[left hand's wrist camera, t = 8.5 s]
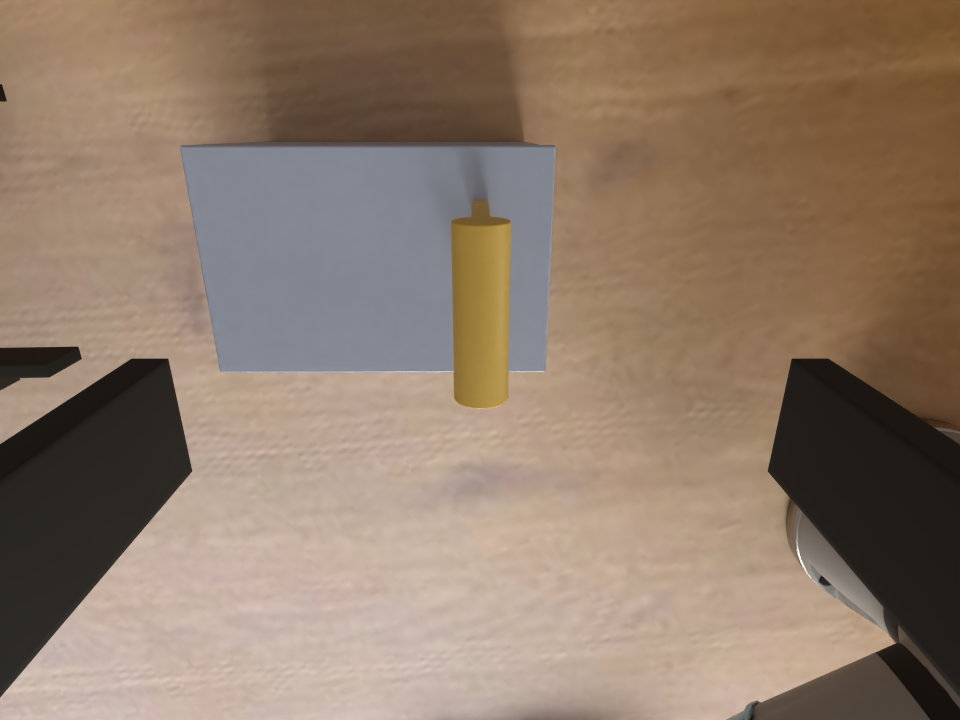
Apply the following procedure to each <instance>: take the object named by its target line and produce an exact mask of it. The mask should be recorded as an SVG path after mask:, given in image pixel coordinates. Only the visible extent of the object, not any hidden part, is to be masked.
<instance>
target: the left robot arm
mask: <svg viewBox="0 0 960 720" xmlns="http://www.w3.org/2000/svg"><path fill="white" fill-rule="evenodd" d="M191 472H192V468H191V463H190V459H189V454H188V449H187V445H186V440H185V435H184V430H183V426H182V421H181V416H180V412H179V407H178V402H177V398H176V393H175V388H174V384H173V379H172V374H171V370H170V365H169V360H168V359H131V360H129V361H127V362H126V363H124V364H123V365H121V366H120V367H118V368H117V369H115V370H114V371H112V372H111V373H109V374H107V375H106V376H104V377H103V378H101V379H100V380H98V381H97V382H95V383H94V384H92V385H91V386H89V387H87V388H86V389H84V390H83V391H81V392H80V393H78V394H77V395H75V396H74V397H72V398H71V399H69V400H67V401H66V402H64V403H63V404H61V405H60V406H58V407H57V408H55V409H54V410H52V411H51V412H49V413H47V414H46V415H44V416H43V417H41V418H40V419H38V420H37V421H35V422H34V423H32V424H31V425H29V426H28V427H26V428H24V429H23V430H21V431H20V432H18V433H17V434H15V435H14V436H12V437H11V438H9V439H8V440H6V441H4V442H3V443H1V444H0V697H1V696H2V695H3V694H4V692H5V691H6V690H7V689H8V688H9V686H10V685H11V684H12V683H13V682H14V681H15V679H16V678H17V677H18V676H19V675H20V673H21V672H22V671H23V670H24V669H25V668H26V666H27V665H28V664H29V663H30V662H31V661H32V659H33V658H34V657H35V656H36V655H37V653H38V652H39V651H40V650H41V649H42V648H43V646H44V645H45V644H46V643H47V642H48V641H49V639H50V638H51V637H52V636H53V635H54V633H55V632H56V631H57V630H58V629H59V628H60V626H61V625H62V624H63V623H64V622H65V620H66V619H67V618H68V617H69V616H70V615H71V613H72V612H73V611H74V610H75V609H76V608H77V606H78V605H79V604H80V603H81V602H82V600H83V599H84V598H85V597H86V596H87V595H88V593H89V592H90V591H91V590H92V589H93V588H94V586H95V585H96V584H97V583H98V582H99V580H100V579H101V578H102V577H103V576H104V575H105V573H106V572H107V571H108V570H109V569H110V567H111V566H112V565H113V564H114V563H115V562H116V560H117V559H118V558H119V557H120V556H121V555H122V553H123V552H124V551H125V550H126V549H127V547H128V546H129V545H130V544H131V543H132V542H133V540H134V539H135V538H136V537H137V536H138V535H139V533H140V532H141V531H142V530H143V529H144V527H145V526H146V525H147V524H148V523H149V522H150V520H151V519H152V518H153V517H154V516H155V514H156V513H157V512H158V511H159V510H160V509H161V507H162V506H163V505H164V504H165V503H166V502H167V500H168V499H169V498H170V497H171V496H172V494H173V493H174V492H175V491H176V490H177V489H178V487H179V486H180V485H181V484H182V483H183V482H184V480H185V479H186V478H187V477H188V476H189V474H190V473H191ZM768 472H769V473H770V474H771V476H772V477H773V478H774V479H775V480H776V482H777V483H778V484H779V485H780V486H781V487H782V489H783V490H784V491H785V492H786V493H787V494H788V496H789V497H790V498H791V499H792V500H791V502H790V506H789V509H788V514H787V524H786V529H787V537H788V542H789V545H790V548H791V550H792V552H793V554H794V556H795V557H796V559H797V560H798V562H799V563H800V564H801V566H802V567H803V568H804V570H805V571H806V572H807V574H808V575H809V577H810V578H811V579H812V580H813V581H814V582H815V583H816V584H817V585H819V586H820V587H821V588H822V589H824V590H825V591H826V592H827V593H829V594H830V595H832V596H833V597H835V598H836V599H838V600H840V601H841V602H842V603H844V604H845V605H846V606H848V607H849V608H851V609H852V610H854V611H855V612H857V613H858V614H860V615H861V616H863V617H864V618H866V619H867V620H869V621H870V622H872V623H873V624H875V625H876V626H878V627H879V628H880V629H882V630H883V631H885V632H886V633H888V634H889V636H890V637H891V638H892V639H893V640H894V641H895V643H896V644H894V645H891V646H889V647H887V648H885V649H882V650H880V651H878V652H876V653H873V654H871V655H869V656H867V657H864V658H862V659H860V660H858V661H855V662H853V663H851V664H848V665H846V666H844V667H842V668H839V669H837V670H835V671H832V672H830V673H828V674H826V675H823V676H821V677H819V678H816V679H814V680H812V681H810V682H807V683H805V684H803V685H800V686H798V687H796V688H794V689H791V690H789V691H787V692H784V693H782V694H780V695H778V696H775V697H773V698H771V699H768V700H766V701H764V702H762V703H760V702H759V701H754V702H751V703H749V704H748V705H747V706H746V708H745V710H744V711H743V712H741V713H739V714H737V715H735V716H733V717H731V718H729V719H727V720H960V428H959V427H957V426H954V425H951V424H948V423H945V422H940V421H935V420H925V419H920V418H919V417H917V416H916V415H914V414H913V413H911V412H909V411H908V410H906V409H905V408H903V407H902V406H900V405H899V404H897V403H896V402H894V401H893V400H891V399H889V398H888V397H886V396H885V395H883V394H882V393H880V392H879V391H877V390H876V389H874V388H873V387H871V386H869V385H868V384H866V383H865V382H863V381H862V380H860V379H859V378H857V377H856V376H854V375H853V374H851V373H849V372H848V371H846V370H845V369H843V368H842V367H840V366H839V365H837V364H836V363H834V362H833V361H831V360H829V359H792V360H791V365H790V370H789V374H788V379H787V384H786V388H785V393H784V398H783V402H782V407H781V412H780V416H779V421H778V426H777V430H776V435H775V440H774V445H773V449H772V454H771V459H770V463H769V468H768Z"/></svg>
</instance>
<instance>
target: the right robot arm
mask: <svg viewBox="0 0 960 720" xmlns="http://www.w3.org/2000/svg"><path fill="white" fill-rule="evenodd" d="M0 101H7V100H6V97H5V93H4V90H3V87H2V84H0ZM81 359H82V358H81V355H80V351H79V348H78V347H30V348H0V390H2V389H4V388H6V387H7V386H9V385H11V384H13V383H15V382H17V381H19V380H20V378H41V377H51V376H53V375H54V374H56V373H58V372H60V371H61V370H63V369H65V368H67V367H68V366H70V365H72V364H74V363H75V362H77V361H79V360H81Z"/></svg>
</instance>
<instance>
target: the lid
mask: <svg viewBox="0 0 960 720" xmlns="http://www.w3.org/2000/svg"><path fill="white" fill-rule="evenodd" d="M180 149H181V155H182V160H183V166H184V171H185V177H186V182H187V188H188V194H189V199H190V205H191V210H192V216H193V222H194V227H195V233H196V238H197V244H198V249H199V255H200V261H201V266H202V272H203V277H204V283H205V288H206V294H207V300H208V305H209V311H210V316H211V322H212V327H213V333H214V339H215V344H216V350H217V355H218V361H219V367H220V371H221V372H454V398H455V400H456V402H457V403H459V404H460V405H462V406H465V407H468V408H474V409H488V408H494V407H497V406H500V405H502V404H504V403H505V402H506V401H507V399H508V372H545V371H546V358H547V336H548V314H549V292H550V270H551V248H552V226H553V204H554V182H555V160H556V146H554V145H183V146H180Z"/></svg>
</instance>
